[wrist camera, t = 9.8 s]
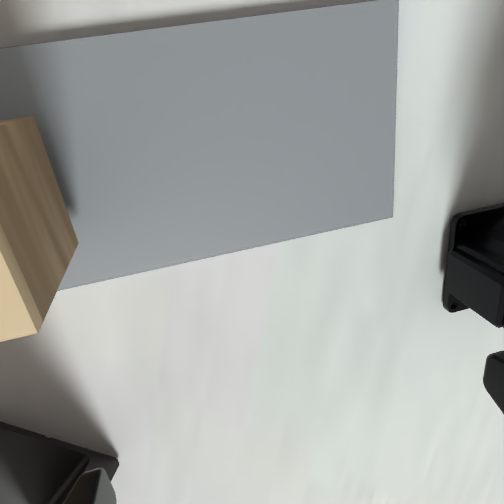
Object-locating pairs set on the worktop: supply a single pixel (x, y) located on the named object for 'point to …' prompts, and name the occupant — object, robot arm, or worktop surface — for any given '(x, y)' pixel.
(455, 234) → the robot arm
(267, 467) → the worktop surface
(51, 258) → the wooden block
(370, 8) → the board
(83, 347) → the worktop surface
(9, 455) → the phone stand
